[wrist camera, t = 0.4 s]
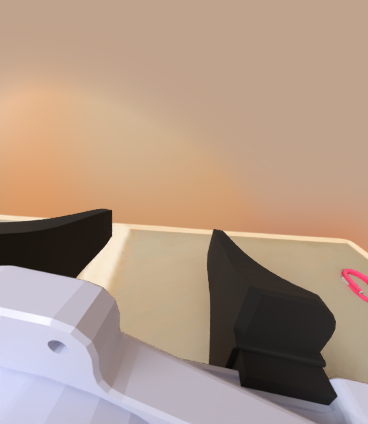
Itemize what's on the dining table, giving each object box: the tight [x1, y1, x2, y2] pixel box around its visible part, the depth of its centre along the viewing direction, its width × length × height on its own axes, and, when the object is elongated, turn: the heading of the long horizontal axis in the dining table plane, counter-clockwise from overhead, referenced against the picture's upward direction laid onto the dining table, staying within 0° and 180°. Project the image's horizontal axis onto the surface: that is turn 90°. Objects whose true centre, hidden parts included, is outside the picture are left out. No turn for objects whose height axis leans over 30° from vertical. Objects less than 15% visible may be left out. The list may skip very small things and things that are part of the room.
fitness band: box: [341, 269, 368, 302], centre depth 35 cm, size 8×6×2 cm
